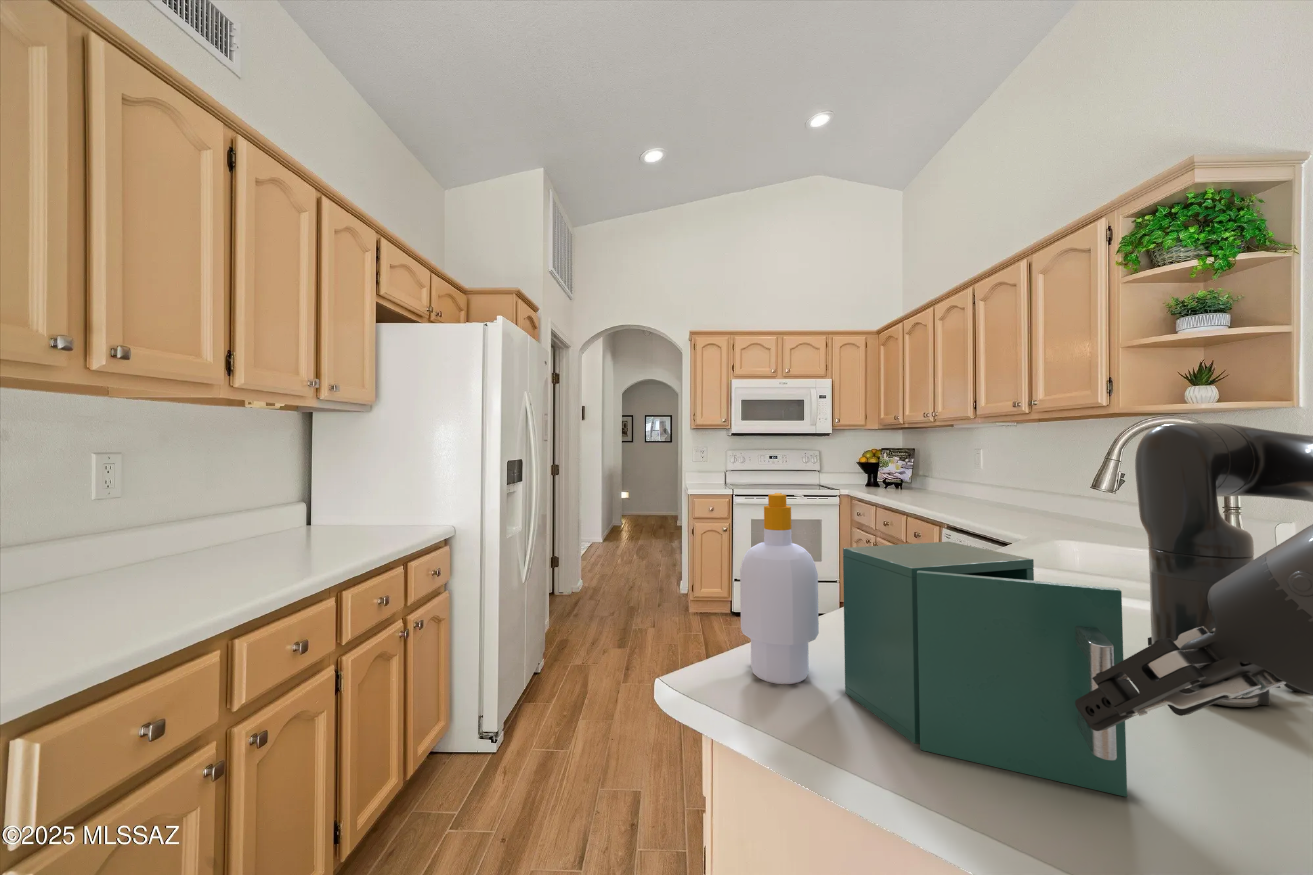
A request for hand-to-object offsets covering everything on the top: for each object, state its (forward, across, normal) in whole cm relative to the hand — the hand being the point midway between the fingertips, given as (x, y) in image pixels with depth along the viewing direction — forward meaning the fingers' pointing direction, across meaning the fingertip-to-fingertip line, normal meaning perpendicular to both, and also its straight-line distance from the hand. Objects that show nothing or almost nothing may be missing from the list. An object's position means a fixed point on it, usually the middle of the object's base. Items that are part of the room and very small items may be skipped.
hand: (1129, 709), depth 41 cm
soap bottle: (+32, -11, +17) cm, 38 cm away
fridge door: (+13, -2, -2) cm, 13 cm away
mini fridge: (+23, +2, +8) cm, 24 cm away
